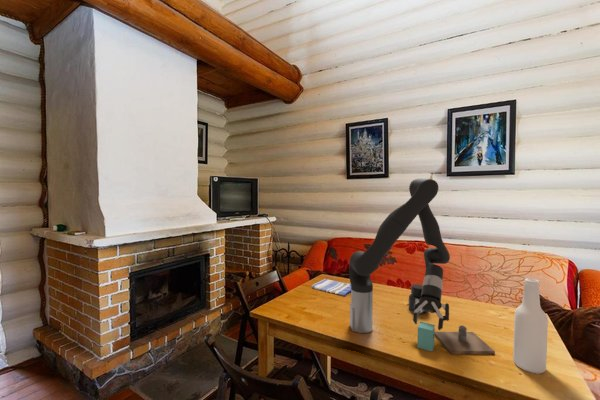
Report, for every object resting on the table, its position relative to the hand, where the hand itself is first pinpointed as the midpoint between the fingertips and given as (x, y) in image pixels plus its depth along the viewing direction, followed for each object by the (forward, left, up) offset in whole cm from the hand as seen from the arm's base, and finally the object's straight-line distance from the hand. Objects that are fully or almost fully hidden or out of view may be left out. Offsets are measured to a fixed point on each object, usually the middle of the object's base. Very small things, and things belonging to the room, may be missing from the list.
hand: (427, 326), depth 111 cm
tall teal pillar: (-1, -1, -7) cm, 7 cm away
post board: (+14, +1, -7) cm, 16 cm away
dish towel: (-30, +62, -8) cm, 69 cm away
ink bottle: (+9, +32, -7) cm, 34 cm away
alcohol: (+29, -13, -7) cm, 33 cm away
